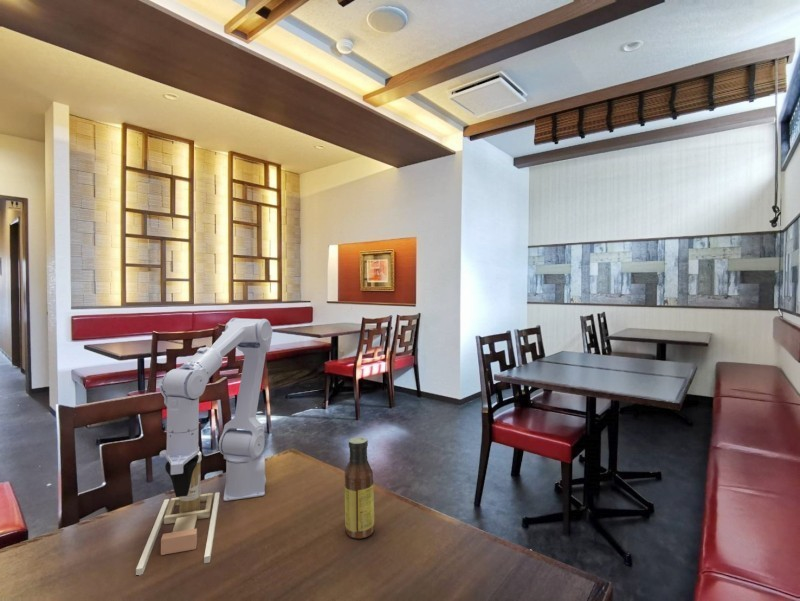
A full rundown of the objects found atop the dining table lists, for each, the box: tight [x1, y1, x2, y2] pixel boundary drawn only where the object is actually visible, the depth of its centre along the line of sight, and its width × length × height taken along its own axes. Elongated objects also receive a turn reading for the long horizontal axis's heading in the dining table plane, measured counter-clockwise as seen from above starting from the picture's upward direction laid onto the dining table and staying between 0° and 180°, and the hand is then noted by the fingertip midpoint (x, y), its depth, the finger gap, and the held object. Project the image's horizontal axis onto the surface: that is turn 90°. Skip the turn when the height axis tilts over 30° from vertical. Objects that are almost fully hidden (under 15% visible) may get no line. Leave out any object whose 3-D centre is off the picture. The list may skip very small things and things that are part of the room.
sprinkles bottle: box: [178, 450, 202, 514], centre depth 95 cm, size 5×5×14 cm
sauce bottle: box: [343, 436, 375, 539], centre depth 88 cm, size 7×6×20 cm
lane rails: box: [135, 491, 221, 576], centre depth 87 cm, size 12×26×1 cm, turn 20°
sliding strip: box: [160, 492, 214, 556], centre depth 90 cm, size 9×20×3 cm, turn 20°
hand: (182, 495), depth 84 cm, fingers closed
